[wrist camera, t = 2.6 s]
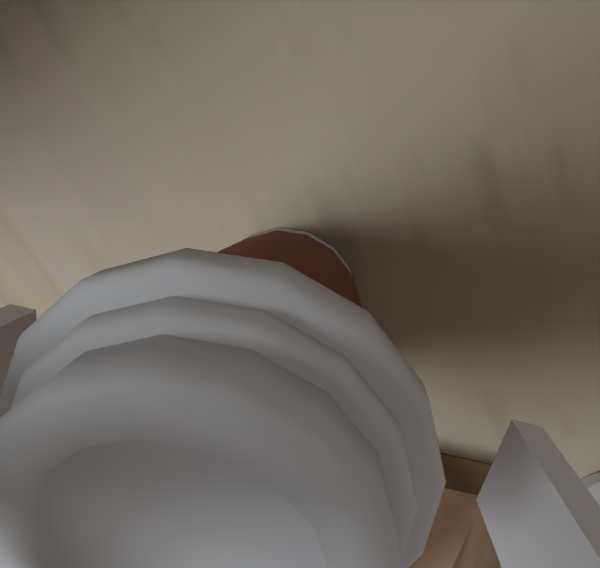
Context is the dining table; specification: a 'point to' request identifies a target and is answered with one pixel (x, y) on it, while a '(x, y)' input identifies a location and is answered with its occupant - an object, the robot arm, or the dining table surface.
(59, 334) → the coffee cup
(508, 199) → the dining table surface
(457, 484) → the walnut caddy
